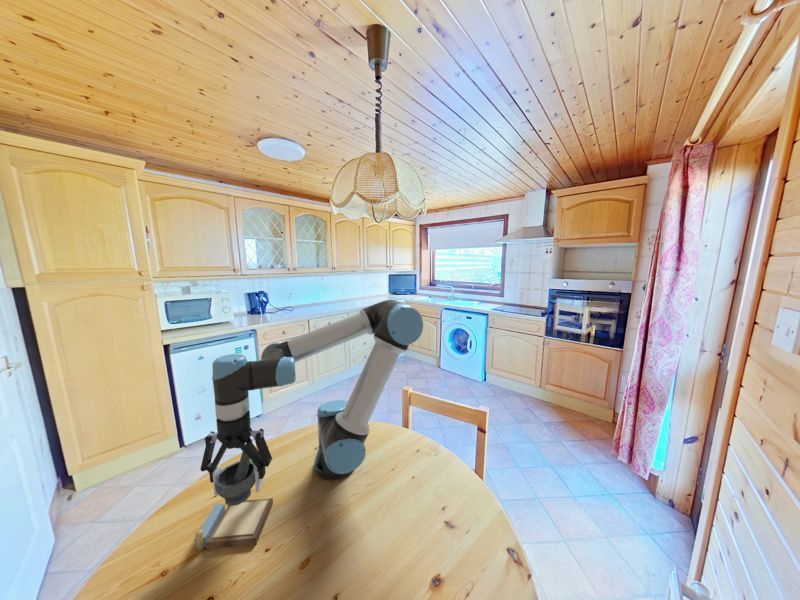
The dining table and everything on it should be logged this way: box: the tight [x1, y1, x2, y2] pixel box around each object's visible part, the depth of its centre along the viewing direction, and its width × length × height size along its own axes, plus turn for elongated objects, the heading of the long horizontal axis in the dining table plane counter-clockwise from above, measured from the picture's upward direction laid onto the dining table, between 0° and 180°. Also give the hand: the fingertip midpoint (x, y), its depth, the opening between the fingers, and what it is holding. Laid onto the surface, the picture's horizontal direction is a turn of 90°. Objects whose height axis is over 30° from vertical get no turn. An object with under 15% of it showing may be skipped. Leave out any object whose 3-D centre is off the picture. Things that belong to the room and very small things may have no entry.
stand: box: [206, 497, 274, 551], centre depth 75 cm, size 12×12×2 cm
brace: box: [194, 502, 226, 552], centre depth 73 cm, size 11×2×4 cm, turn 9°
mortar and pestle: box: [215, 443, 256, 506], centre depth 73 cm, size 11×9×12 cm
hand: (239, 489), depth 74 cm, fingers closed on mortar and pestle, 10 cm apart
